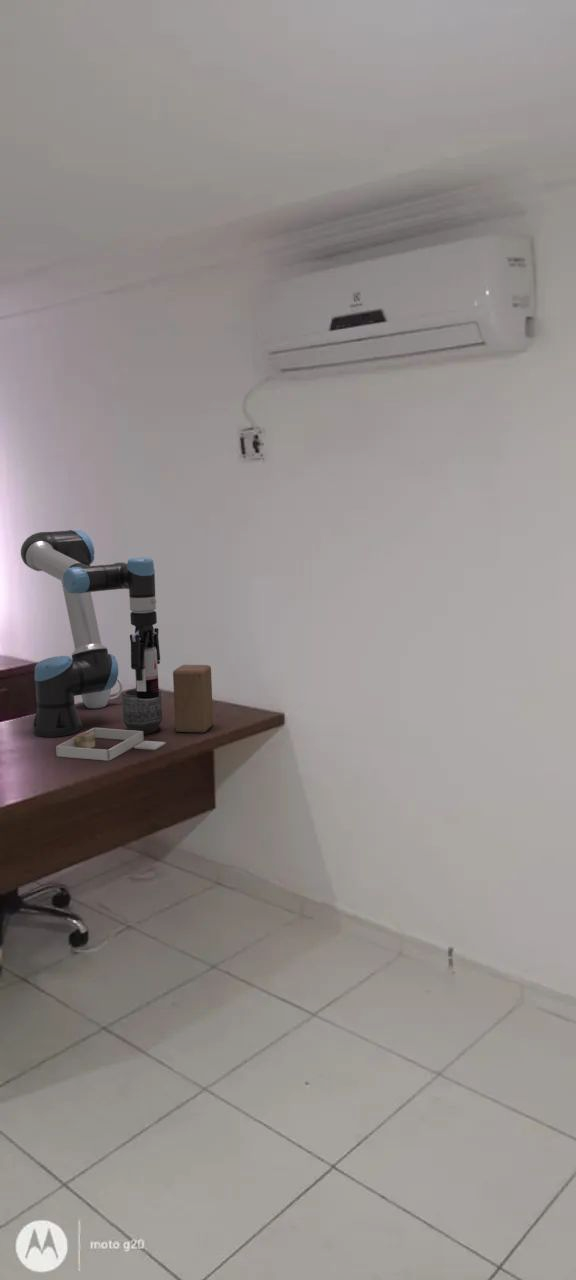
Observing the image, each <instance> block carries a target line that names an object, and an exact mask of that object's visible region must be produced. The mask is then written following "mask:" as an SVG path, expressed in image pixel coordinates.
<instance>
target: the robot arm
mask: <svg viewBox="0 0 576 1280" xmlns="http://www.w3.org/2000/svg"><path fill="white" fill-rule="evenodd" d="M20 557H21V559H22V561H23V563H24V564H25V565H26V566H27V567H28V568H30V569H31V570H34V571H36V572H44V573H45V574H48V575H49V576H52V577H54V578H55V579H57V580H59V581H60V582H61V584H62V585H61V586H62V591H63V596H64V599H65V600H64V601H65V606H66V610H67V616H68V620H69V625H70V630H71V634H72V639H73V640H72V641H73V644H74V650H73V652H72V654H71V656H70V655H59V656H51V657H47V658H45V659H42V660H40V661H38V662H37V663H36V664H35V665H34V678H33V679H34V684H35V696H36V698H35V699H36V713H35V717H34V721H33V723H32V734H33V735H34V736H37V737H45V738H49V737H51V738H52V737H53V738H54V737H57V738H58V737H65V736H69V735H73V734H77V733H78V732H80V731H82V730H83V729H82V728H83V727H82V721H81V718H80V715H79V712H78V711H77V709H76V708H77V707H76V704H75V697H76V696H81V695H82V694H88V693H94V692H102V691H105V690H109V689H113V688H114V686H115V685H116V683H117V682H118V681H117V678H119V664H118V660H117V659H116V656H115V655H114V654H112V653H109V652H108V647H106V646H105V645H103V644H102V641H101V635H100V632H99V626H98V621H97V617H96V612H95V610H96V609H95V606H94V601H93V596H92V593H94V592H102V591H104V592H105V591H112V590H113V591H114V590H116V591H117V590H128V594H129V610H130V611H131V612H130V614H129V615H130V616H129V617H130V624H131V625H132V626H134V628H135V630H134V634H129V640H130V668H131V670H134V671H135V670H136V676H135V686H136V685H137V691H144V692H145V691H146V675H145V669H143V668H144V652H145V651H144V650H145V649H146V647H147V648H153V647H156V650H157V665H160V663H161V654H160V653H161V651H160V641H159V631H160V630H159V628H158V627H155V628H154V625H156V624H157V623H158V618H157V612H156V609H157V606H156V605H157V604H156V603H157V599H156V577H155V573H156V570H155V566H154V565H155V563H154V560H153V558H152V557H151V558H150V557H131V558H129V559H128V560H127V563H126V562H122V561H121V562H113V563H112V564H100V565H99V564H98V565H91V564H93V562H95V561H94V560H95V547H94V543H93V542H92V539H91V537H90V536H89V535H88V534H87V533H86V532H85V531H82V530H73V529H68V530H57V531H40V532H35V533H33V534H31V535H30V536H29V537H27V538H26V539H25V540H24V541H23V543H22V545H21V548H20Z"/></svg>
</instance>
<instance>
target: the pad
mask: <svg viewBox="0 0 576 1280" xmlns="http://www.w3.org/2000/svg"><path fill="white" fill-rule="evenodd" d="M166 744H167V742H165V741H154V740H153V741H152V740H144V741H143V742H141V743H139V744H137V745H136V746H134V747H133V748H134V749H138V750H139V749H140V750H150V751H152V750H153V751H156V750H158V749H159V748H161V747H162V746H164V745H166Z"/></svg>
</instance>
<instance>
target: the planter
mask: <svg viewBox="0 0 576 1280" xmlns="http://www.w3.org/2000/svg"><path fill="white" fill-rule="evenodd" d="M121 695H122V696H121V698H122V717H123V718H122V719H123V720H122V721H123V723H124V725H125V726H126V728H127V730H134V731H144V735H147V734H152V733H155V732H156V731H157V730H158V729H159V727H160V725H161V724H162V720H163V710H162V708H163V707H162V706H163V705H162V690H161V689H160V688H159V697H158V698H157V699H154V700H139V699H138V698H137V694H136V687H134V688H130V689H126V690H124V691H123V690H122V692H121Z"/></svg>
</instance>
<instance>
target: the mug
mask: <svg viewBox="0 0 576 1280" xmlns="http://www.w3.org/2000/svg"><path fill="white" fill-rule="evenodd" d="M116 682H117V683H118V684H119V690H118V693H117V694H116V695H114V696H111V691H112V690H111V689H112V688H111V689H109V690H105V691H102V692H94V693H88V694H82V695H80V696H81V700H82V702H83V703H84V705H85V706H86V708H88V709H101V708H105V707H107V705H108V703H109V701H113V700H114V699H115V700H116V699H117V698H119V697H120V696H121V695H122V692H123V683H122V681H121V679H120V678H119V677H118V678H117V681H116Z"/></svg>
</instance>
